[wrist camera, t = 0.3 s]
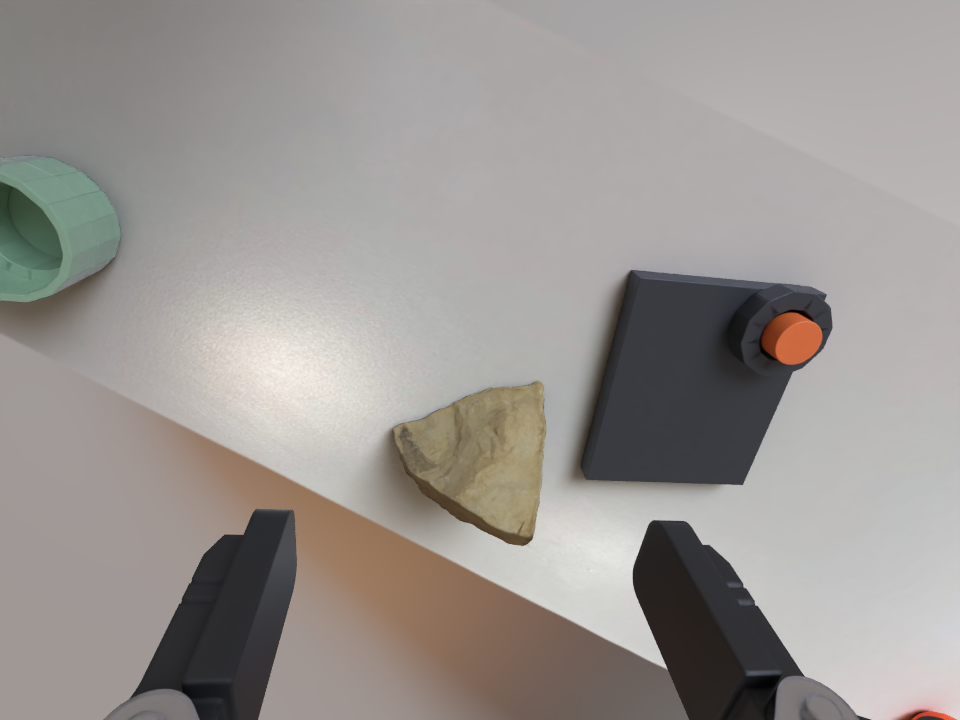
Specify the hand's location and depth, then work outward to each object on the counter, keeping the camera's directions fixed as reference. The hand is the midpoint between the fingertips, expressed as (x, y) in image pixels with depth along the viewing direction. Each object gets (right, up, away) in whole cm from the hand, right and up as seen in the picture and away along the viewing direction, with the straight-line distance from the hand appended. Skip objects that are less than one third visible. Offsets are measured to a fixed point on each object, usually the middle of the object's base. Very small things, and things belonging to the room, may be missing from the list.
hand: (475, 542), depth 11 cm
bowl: (-23, +12, +17) cm, 31 cm away
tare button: (+20, +6, +21) cm, 30 cm away
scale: (+15, +2, +26) cm, 30 cm away
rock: (-1, 0, +26) cm, 26 cm away
